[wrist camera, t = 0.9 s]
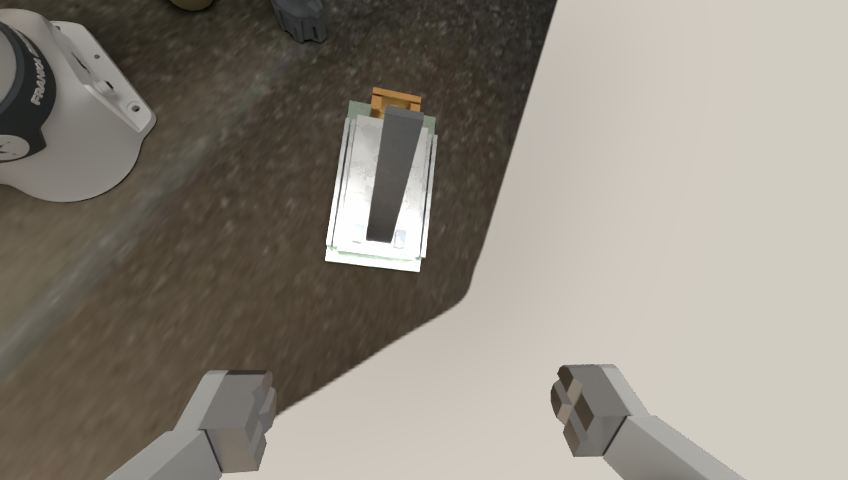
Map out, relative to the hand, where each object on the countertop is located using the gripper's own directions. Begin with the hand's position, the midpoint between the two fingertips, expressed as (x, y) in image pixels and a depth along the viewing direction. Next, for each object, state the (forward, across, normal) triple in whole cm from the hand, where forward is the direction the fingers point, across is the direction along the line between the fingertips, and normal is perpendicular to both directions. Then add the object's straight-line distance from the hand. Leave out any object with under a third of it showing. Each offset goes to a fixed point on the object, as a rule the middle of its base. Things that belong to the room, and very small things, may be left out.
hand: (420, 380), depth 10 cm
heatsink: (+39, +2, +10) cm, 40 cm away
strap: (+26, +1, +4) cm, 26 cm away
